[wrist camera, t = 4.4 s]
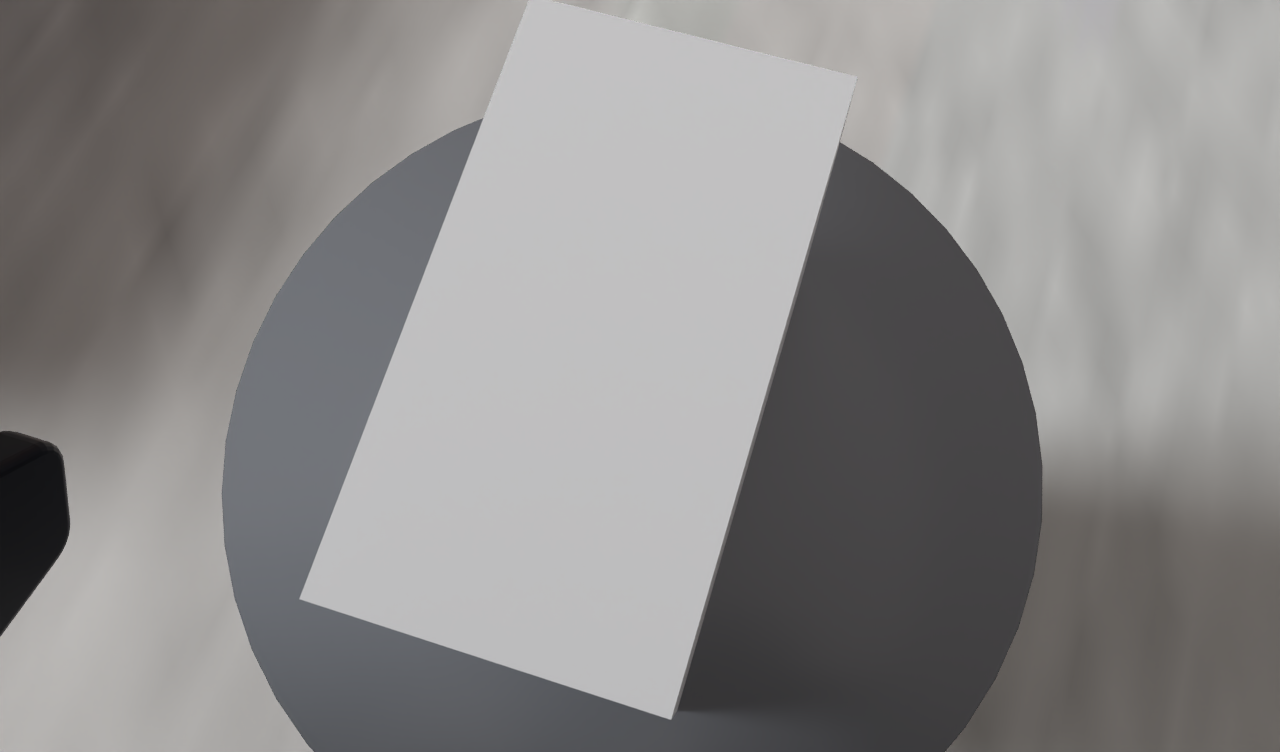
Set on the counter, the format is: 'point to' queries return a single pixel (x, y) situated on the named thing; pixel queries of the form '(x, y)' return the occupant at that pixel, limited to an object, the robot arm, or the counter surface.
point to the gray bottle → (634, 429)
